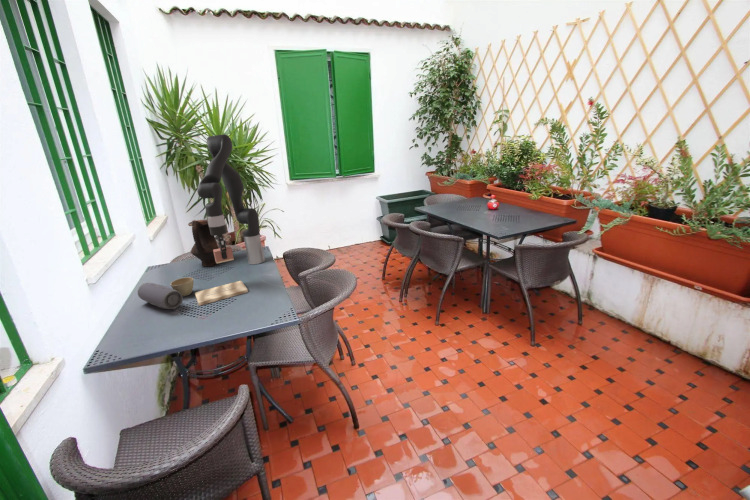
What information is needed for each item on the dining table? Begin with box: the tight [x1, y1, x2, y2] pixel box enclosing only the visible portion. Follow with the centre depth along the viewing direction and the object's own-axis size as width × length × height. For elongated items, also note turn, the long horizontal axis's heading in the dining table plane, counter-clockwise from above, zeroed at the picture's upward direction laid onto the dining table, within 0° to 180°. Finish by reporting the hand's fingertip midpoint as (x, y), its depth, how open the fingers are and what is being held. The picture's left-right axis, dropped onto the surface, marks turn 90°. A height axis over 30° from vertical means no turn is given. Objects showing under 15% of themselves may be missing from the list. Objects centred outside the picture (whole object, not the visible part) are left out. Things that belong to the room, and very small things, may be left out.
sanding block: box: [213, 246, 235, 264], centre depth 170 cm, size 8×4×6 cm, turn 122°
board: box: [194, 280, 249, 306], centre depth 167 cm, size 22×14×2 cm, turn 123°
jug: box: [187, 219, 221, 267], centre depth 204 cm, size 21×18×30 cm
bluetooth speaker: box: [137, 282, 184, 310], centre depth 157 cm, size 23×9×10 cm, turn 59°
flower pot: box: [170, 276, 195, 297], centre depth 168 cm, size 10×10×7 cm
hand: (224, 257), depth 171 cm, fingers closed on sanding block, 4 cm apart
